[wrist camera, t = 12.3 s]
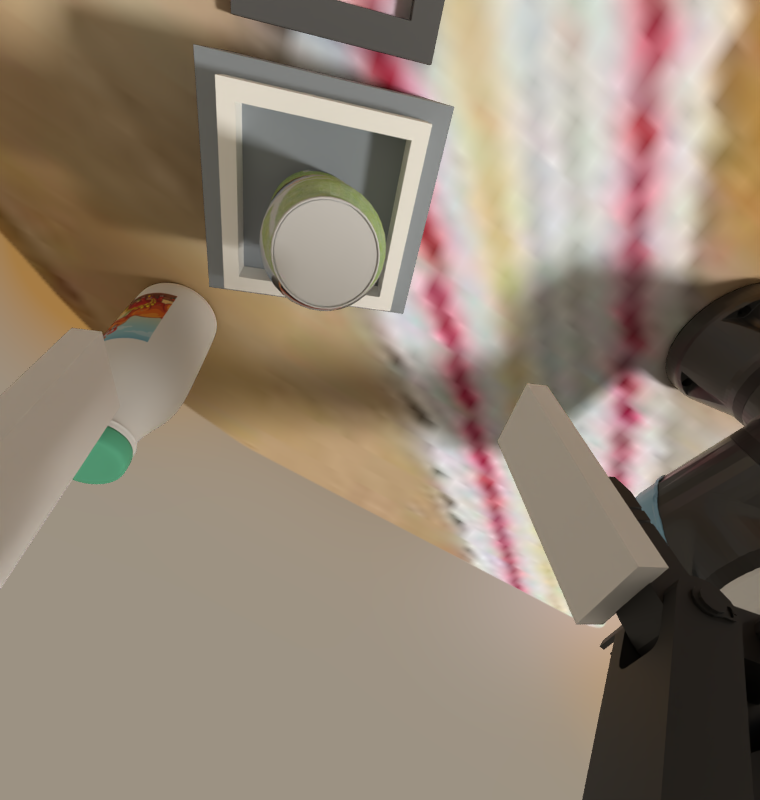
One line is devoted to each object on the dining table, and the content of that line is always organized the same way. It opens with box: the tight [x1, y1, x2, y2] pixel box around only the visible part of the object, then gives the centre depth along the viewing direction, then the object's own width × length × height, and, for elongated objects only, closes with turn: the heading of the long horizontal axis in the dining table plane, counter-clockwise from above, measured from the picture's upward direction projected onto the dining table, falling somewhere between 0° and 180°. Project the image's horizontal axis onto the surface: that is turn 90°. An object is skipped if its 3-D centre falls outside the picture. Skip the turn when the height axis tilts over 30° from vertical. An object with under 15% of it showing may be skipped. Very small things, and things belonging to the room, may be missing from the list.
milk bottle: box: [72, 283, 217, 484], centre depth 34 cm, size 8×8×20 cm
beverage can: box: [259, 170, 386, 311], centre depth 23 cm, size 6×7×12 cm
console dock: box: [193, 44, 454, 314], centre depth 31 cm, size 15×14×11 cm
